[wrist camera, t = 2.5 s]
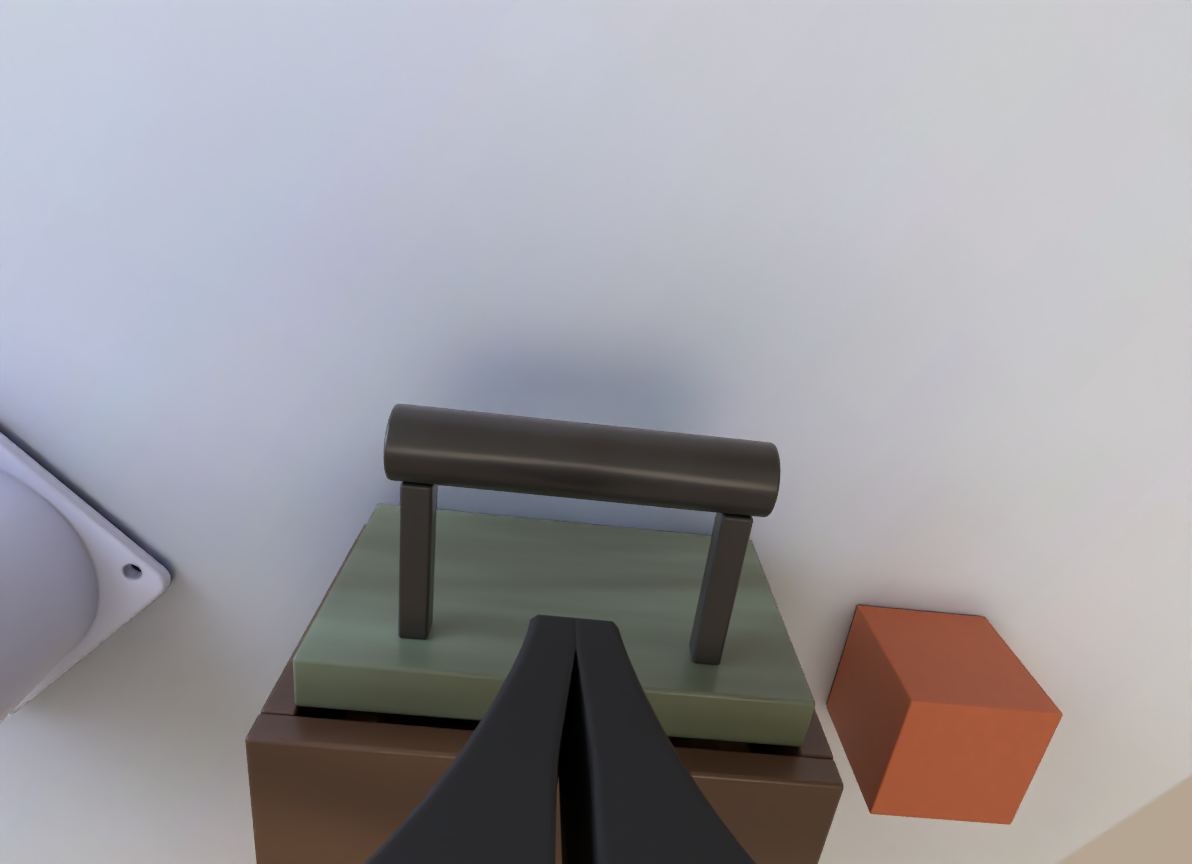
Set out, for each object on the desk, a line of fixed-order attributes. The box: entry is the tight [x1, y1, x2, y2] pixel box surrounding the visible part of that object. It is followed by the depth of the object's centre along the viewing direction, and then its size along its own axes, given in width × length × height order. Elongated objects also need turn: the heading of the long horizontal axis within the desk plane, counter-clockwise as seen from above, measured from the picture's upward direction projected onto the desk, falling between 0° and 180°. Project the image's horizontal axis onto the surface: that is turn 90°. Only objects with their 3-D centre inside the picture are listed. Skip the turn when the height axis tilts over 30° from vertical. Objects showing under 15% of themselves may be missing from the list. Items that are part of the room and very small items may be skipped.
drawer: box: [293, 404, 815, 753], centre depth 18 cm, size 16×10×6 cm, turn 173°
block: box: [827, 605, 1062, 824], centre depth 21 cm, size 4×4×4 cm
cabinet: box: [246, 524, 843, 864], centre depth 20 cm, size 12×11×8 cm
